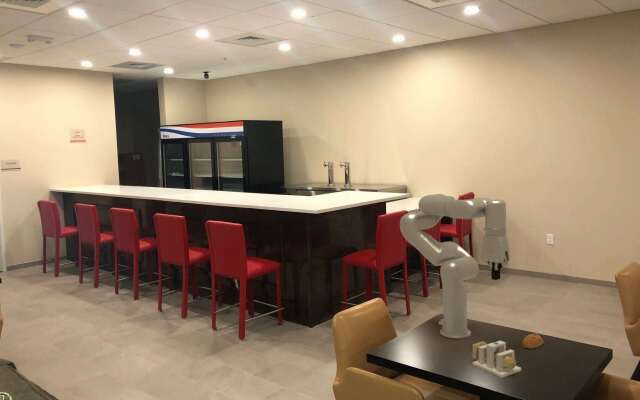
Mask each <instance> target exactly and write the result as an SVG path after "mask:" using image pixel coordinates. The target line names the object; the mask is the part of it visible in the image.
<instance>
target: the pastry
mask: <svg viewBox="0 0 640 400" xmlns="http://www.w3.org/2000/svg"><path fill="white" fill-rule="evenodd" d="M543 344H544V340H543V338H542V337H541V336H540V335H539V334H538V333H530V334H528V335H526V336H524V338H523V339H522V342H521V345H522V348H526V349H531V350H533V349H537V348H539V347H542V345H543Z"/></svg>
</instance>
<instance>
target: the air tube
mask: <svg viewBox="0 0 640 400" xmlns="http://www.w3.org/2000/svg"><path fill="white" fill-rule="evenodd" d="M484 345H487V342H486V341H479V342H476V343H472V358H473V359H475V360H479V347H480V346H484ZM498 353H500V352H499V351H497V350H496V351H494V362H496V354H498ZM484 354H485V358H487V348H486V349H484ZM496 363H497V362H496ZM503 365H504V366H506V367H508V368H511V369H513V368H514V367H515V366H517V359H516V358H515V359H514V358H512V357H509V356H508V355H505V356H503Z"/></svg>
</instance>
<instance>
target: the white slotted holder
mask: <svg viewBox="0 0 640 400" xmlns="http://www.w3.org/2000/svg"><path fill="white" fill-rule="evenodd" d="M486 348H487V358H485V354H484V349H486ZM497 348H498V349H497ZM497 350H498V352H500V353H498V354H496V362H497V363H496V362H494V351H497ZM505 355H507V356H509V357H512V358H514V359H516V357H515V350H513V349H508V350H507V342H505V341H502V340H498V341H495V342H490V343H486V345H484V346H480V347H479V358H478V359H477V360H476V361H472V362H471V364H472V366H474V367H476V368H478V369H481V370H483V371H484V372H487V373H489V374H492V375H494V376H496V377H498V378H501V379H503V378H505V377H509V376H511V375H514V374H516V373H519V372H521V371H522V367H521V366H520V367H519V366H518V365H516V366H515V367H514V368H513V369H511V368H508V367H506V366H504V365H503V356H505Z"/></svg>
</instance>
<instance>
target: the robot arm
mask: <svg viewBox="0 0 640 400" xmlns="http://www.w3.org/2000/svg"><path fill="white" fill-rule="evenodd" d="M418 208H419V209H418V210H419V211H412V212H408V213H406V214H404V215H403V216H401V218H400V221H399V228H400V232H401V234H402V236H403V238H404V239H405V240H406V241H407V242H408V244H410V245H412V247H414V248H415V249H416V250H418V252H419V253H420V254H421V255H422V256H423V257H424V258H425V259H426V260H427V261H428V262H430V263H431V264H432V265H433V266H436V267H438V266H441V267H440V273H439V274H440V279H441V282H442V297H443V298H442V300H443V303H442V304H443V305H442V307H443V318H441V319H440V320H439V321H438V325H441V329H440V330H439V333H440V335H441V336H443V337H445V338H449V339H458V340H459V339H466V338H469V337H470V336H472V331H471V330H470V329H469V328H468V311H467V310H468V309H467V308H468V306H467V305H468V303H467V302H468V301H467V290H466V287H465V284H464V282H465V281H469V280H471V279H474V278H476V277H477V276H478V274H479V271H480V267H479V263H478V262H477V260H476V259H475V258H474V257H473V256H472V255H470V254H469V253H468V251H466V250H465V249H464V248H463V247H462V246H460V245H459V244H458V243H456V242H454V241H443V242H440V241H438V240H436V239H435V238H434V237H432V235H430V234H429V233H427V232H425V231H424V230H428V229H433V227H435V226H436V225H437V224H438V223H439V222H440V220H441V219H443V217H449V218H451V219H459V220H460V219H461V220H473V219H480V218H484V228H483V232H485V233H484V235H483V236H482V242H481V255H480V256H481V259H482V260H483V262H484V263H486V264H488V266H489V269H491V271H490V272H491V280H494V281H497V280H500V279H501V270H502V269H503V267H507V266H509V263H508V262H509V261H510V247H509V246H510V245H509V239H508V236H507V204H506V201H504V200H503V199H490V198H486V197H479V198H470V199H456V198H455V197H454V196H452V195H445V194H442V193H439V194H438V193H436V194H428V195H424V196H422V197H421V198H420V199H419V201H418Z"/></svg>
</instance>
